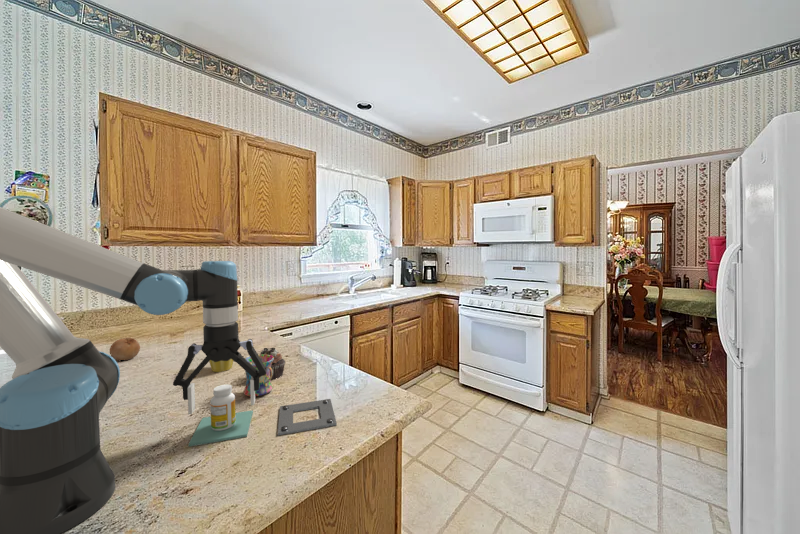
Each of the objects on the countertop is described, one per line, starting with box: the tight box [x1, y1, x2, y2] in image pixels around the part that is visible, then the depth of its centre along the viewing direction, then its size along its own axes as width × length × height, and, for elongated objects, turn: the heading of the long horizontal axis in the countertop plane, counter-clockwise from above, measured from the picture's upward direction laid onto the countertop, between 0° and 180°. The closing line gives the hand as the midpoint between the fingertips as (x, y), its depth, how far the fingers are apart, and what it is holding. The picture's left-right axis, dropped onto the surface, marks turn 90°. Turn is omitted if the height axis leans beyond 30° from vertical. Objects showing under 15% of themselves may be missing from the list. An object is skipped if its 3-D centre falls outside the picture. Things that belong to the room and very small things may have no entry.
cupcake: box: [259, 347, 286, 381], centre depth 111 cm, size 10×10×10 cm
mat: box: [188, 409, 254, 447], centre depth 79 cm, size 12×12×1 cm
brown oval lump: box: [109, 337, 141, 362], centre depth 129 cm, size 10×9×10 cm
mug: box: [243, 354, 274, 397], centre depth 98 cm, size 12×9×11 cm
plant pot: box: [208, 359, 234, 373], centre depth 118 cm, size 10×10×10 cm
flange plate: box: [277, 398, 337, 437], centre depth 84 cm, size 14×14×1 cm
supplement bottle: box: [209, 384, 236, 431], centre depth 78 cm, size 5×5×10 cm
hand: (223, 407), depth 78 cm, fingers open, 13 cm apart
